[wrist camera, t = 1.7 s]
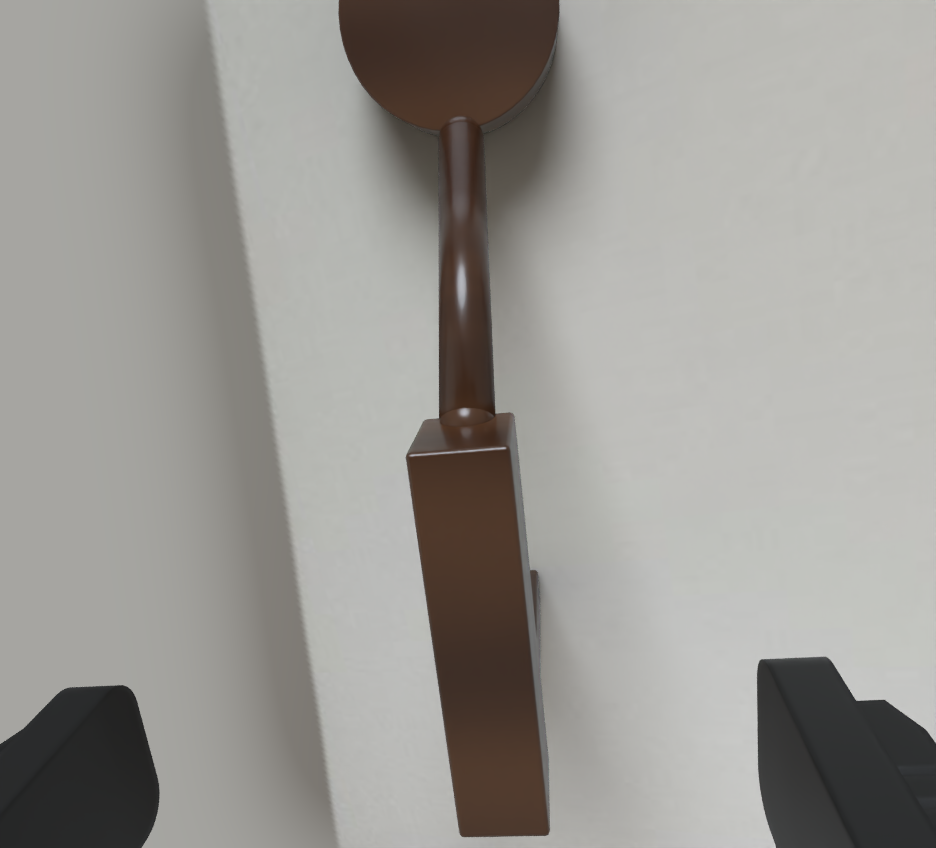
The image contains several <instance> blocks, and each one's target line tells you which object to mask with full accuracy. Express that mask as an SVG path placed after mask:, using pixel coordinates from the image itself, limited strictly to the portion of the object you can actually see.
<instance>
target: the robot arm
mask: <svg viewBox="0 0 936 848" xmlns="http://www.w3.org/2000/svg"><path fill="white" fill-rule="evenodd" d="M757 709H758V772H759V782H760V790H761V796H762V801H763V806H764V810H765V814H766V818H767V822H768V825H769V828H770V831H771V834H772V836H773V839H774V842H775V845H776V848H936V743H935V742H934V740H933V739H932V737H931V736H930V735H929V733H928V732H927V731H926V730H925V729H924V728H923V727H921V726H920V725H918V724H917V723H916V722H914V721H913V720H912V719H910V718H909V717H907V716H906V715H905V714H903V713H902V712H900V711H899V710H898V709H896V708H895V707H894V706H892V705H891V704H889V703H888V702H887V701H885V700H869V701H856V700H855V698H854V697H853V695H852V693H851V692H850V690H849V689H848V687H847V685H846V684H845V682H844V681H843V679H842V677H841V676H840V674H839V673H838V671H837V669H836V668H835V666H834V665H833V663H832V662H831V660H830V659H828V658H827V657H808V658H785V659H762V660H760V661H759V664H758V670H757ZM158 805H159V783H158V778H157V774H156V771H155V767H154V763H153V759H152V756H151V752H150V748H149V745H148V741H147V737H146V733H145V730H144V726H143V722H142V718H141V715H140V711H139V707H138V703H137V700H136V697H135V696H134V694H133V692H132V691H131V690H130V689H129V688H128V687H126V686H123V685H121V686H120V685H119V686H96V687H74V688H73V687H72V688H67V689H64V690H62V691H61V692H60V693H58V694H57V695H56V696H55V697H54V698H53V699H52V700H51V701H50V702H49V703H48V704H47V705H46V706H45V707H44V708H43V709H42V710H41V711H40V712H39V713H38V714H37V715H36V716H35V718H34V719H33V720H32V721H31V722H30V723H29V724H28V725H27V726H26V727H25V728H24V729H22V730H21V731H19V732H18V733H16V734H15V735H13V736H12V737H10V738H9V739H8V740H6V741H4V742H3V743H1V744H0V848H142V846H143V844H144V843H145V841H146V840H147V838H148V836H149V834H150V832H151V830H152V828H153V825H154V822H155V819H156V816H157V812H158Z"/></svg>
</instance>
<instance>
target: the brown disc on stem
mask: <svg viewBox="0 0 936 848" xmlns="http://www.w3.org/2000/svg"><path fill="white" fill-rule="evenodd" d="M558 22H559V0H339V24H340V32H341V37H342V42H343V46H344V49H345V52H346V55H347V58H348V60H349V63H350V65H351V67H352V69H353V71H354V73H355V75H356V77H357V78H358V80H359V81H360V83H361V85H362V86H363V87H364V89H365V90H366V91H367V92H368V93H369V95H370V96H371V97H372V98H373V99H374V100H375V101H376V102H377V103H378V104H379V105H380V106H381V107H382V108H384V109H385V110H386V111H388V112H389V113H390V114H392V115H393V116H395V117H397V118H399V119H400V120H402V121H404V122H406V123H408V124H410V125H411V126H413V127H415V128H417V129H419V130H421V131H424V132H427V133H429V134H432V135H437V136H439V138H438V184H439V419H427V420H425V421H424V422H423V424H422V425H421V427H420V429H419V431H418V433H417V435H416V437H415V439H414V441H413V443H412V445H411V447H410V449H409V451H408V453H407V455H406V462H407V469H408V476H409V483H410V490H411V497H412V504H413V511H414V518H415V525H416V532H417V539H418V546H419V553H420V560H421V567H422V574H423V581H424V588H425V595H426V602H427V609H428V616H429V623H430V630H431V637H432V644H433V651H434V658H435V665H436V672H437V679H438V686H439V693H440V700H441V707H442V714H443V721H444V728H445V735H446V742H447V749H448V756H449V763H450V770H451V777H452V784H453V791H454V798H455V805H456V812H457V819H458V826H459V833H460V835H461V836H462V837H501V836H546V835H548V834H549V831H550V807H549V757H548V747H547V737H546V727H545V717H544V707H543V696H542V686H541V663H540V590H539V580H538V572H537V571H536V570H532V571H530V566H529V556H528V546H527V536H526V525H525V515H524V505H523V495H522V485H521V475H520V465H519V455H518V445H517V435H516V425H515V416H514V414H513V413H498V414H495V394H494V369H493V345H492V320H491V296H490V272H489V247H488V223H487V198H486V174H485V149H484V135H483V134H484V133H487V132H490V131H493V130H495V129H497V128H499V127H501V126H503V125H505V124H506V123H508V122H509V121H510V120H512V119H513V118H515V117H516V116H517V115H518V114H519V113H520V112H521V111H523V110H524V109H525V108H526V107H527V105H528V104H529V103H530V102H531V101H532V100H533V98H534V97H535V96H536V94H537V93H538V91H539V90H540V88H541V87H542V85H543V83H544V81H545V79H546V77H547V75H548V72H549V69H550V66H551V64H552V61H553V57H554V52H555V48H556V40H557V31H558Z"/></svg>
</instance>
